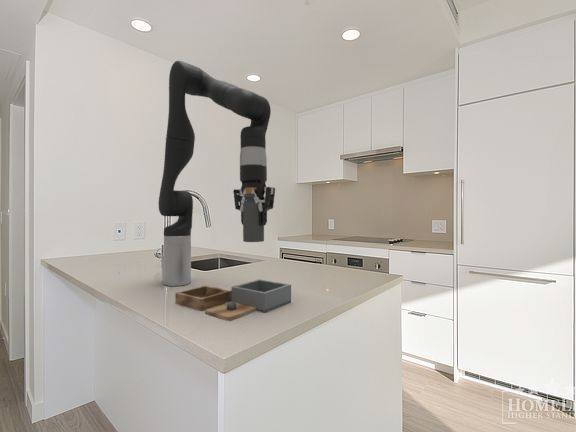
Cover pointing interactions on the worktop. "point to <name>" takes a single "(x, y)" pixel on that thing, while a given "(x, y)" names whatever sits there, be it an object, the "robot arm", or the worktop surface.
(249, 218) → the bottle
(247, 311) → the corral lid
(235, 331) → the worktop surface
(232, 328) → the worktop surface
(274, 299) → the bin
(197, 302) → the tray
